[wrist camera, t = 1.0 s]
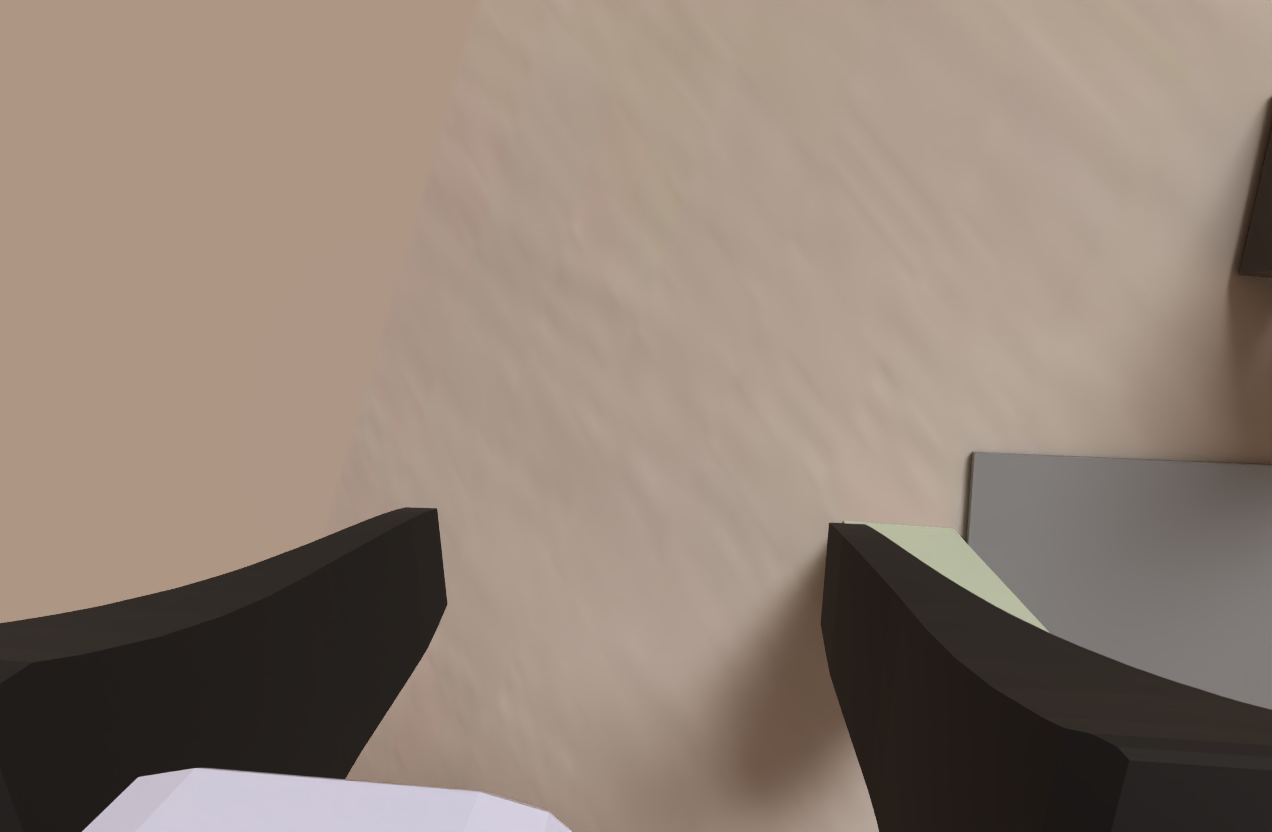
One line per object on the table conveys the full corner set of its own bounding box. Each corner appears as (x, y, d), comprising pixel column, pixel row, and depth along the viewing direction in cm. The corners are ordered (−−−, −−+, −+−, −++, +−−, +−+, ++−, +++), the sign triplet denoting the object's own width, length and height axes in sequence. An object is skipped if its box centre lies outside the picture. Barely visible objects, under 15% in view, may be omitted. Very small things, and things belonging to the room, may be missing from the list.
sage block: (946, 627, 25) (1066, 835, 14) (839, 616, 26) (878, 805, 15) (952, 527, 25) (1081, 666, 14) (843, 520, 26) (887, 646, 15)
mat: (1393, 756, 22) (1402, 761, 22) (955, 701, 25) (957, 706, 25) (1436, 471, 21) (1445, 473, 21) (972, 452, 24) (974, 453, 24)
